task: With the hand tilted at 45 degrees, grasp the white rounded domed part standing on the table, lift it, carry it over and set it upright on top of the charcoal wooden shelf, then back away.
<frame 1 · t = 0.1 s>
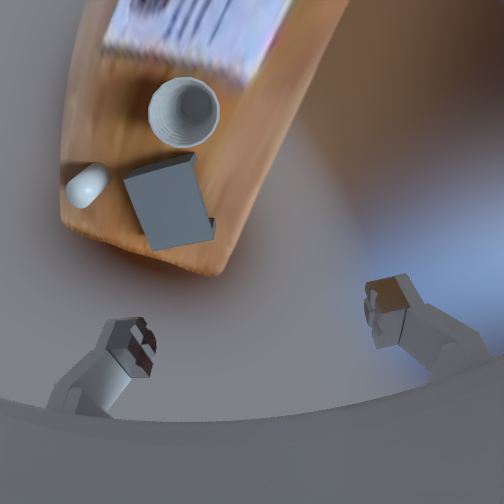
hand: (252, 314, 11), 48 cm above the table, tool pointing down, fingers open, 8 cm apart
plastic cup: (196, 103, 49), on the table
shelf: (175, 196, 59), on the table
white rounded domed part: (98, 175, 56), on the table
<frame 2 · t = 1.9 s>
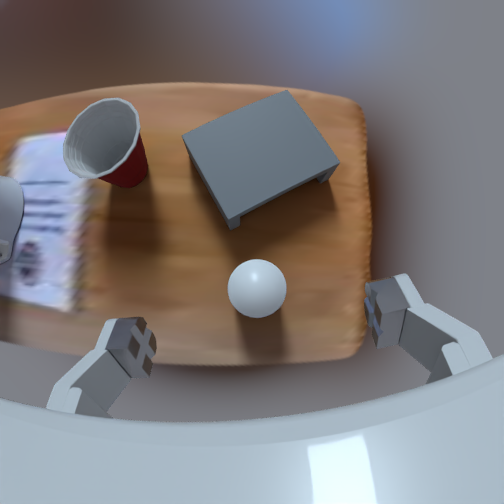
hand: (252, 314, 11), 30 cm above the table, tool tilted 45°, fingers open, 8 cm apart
plastic cup: (130, 172, 42), on the table
shelf: (258, 165, 43), on the table
white rounded domed part: (254, 289, 40), on the table
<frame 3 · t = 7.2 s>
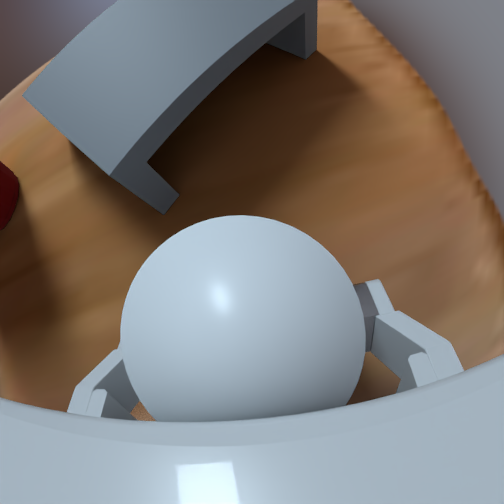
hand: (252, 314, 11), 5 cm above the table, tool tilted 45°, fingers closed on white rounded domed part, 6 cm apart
plastic cup: (3, 205, 20), on the table
shelf: (179, 81, 19), on the table
white rounded domed part: (267, 323, 16), on the table, touching gripper
when the fingers open (13 cm above the table, at t = 12.3 s): white rounded domed part drops 1 cm, resting on shelf.
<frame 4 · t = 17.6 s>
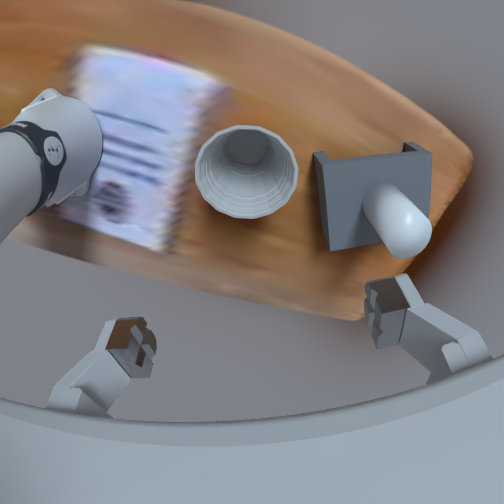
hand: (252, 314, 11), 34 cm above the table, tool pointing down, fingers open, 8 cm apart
plastic cup: (246, 146, 41), on the table
shelf: (367, 186, 44), on the table
white rounded domed part: (382, 202, 39), point 6 cm above the table, touching shelf
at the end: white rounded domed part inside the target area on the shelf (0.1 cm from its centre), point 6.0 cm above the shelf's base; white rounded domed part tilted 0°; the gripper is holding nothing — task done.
